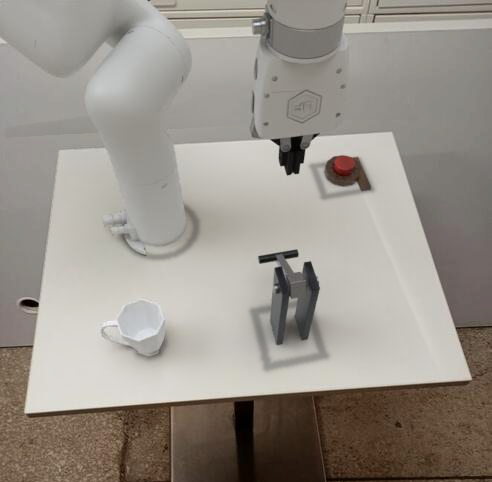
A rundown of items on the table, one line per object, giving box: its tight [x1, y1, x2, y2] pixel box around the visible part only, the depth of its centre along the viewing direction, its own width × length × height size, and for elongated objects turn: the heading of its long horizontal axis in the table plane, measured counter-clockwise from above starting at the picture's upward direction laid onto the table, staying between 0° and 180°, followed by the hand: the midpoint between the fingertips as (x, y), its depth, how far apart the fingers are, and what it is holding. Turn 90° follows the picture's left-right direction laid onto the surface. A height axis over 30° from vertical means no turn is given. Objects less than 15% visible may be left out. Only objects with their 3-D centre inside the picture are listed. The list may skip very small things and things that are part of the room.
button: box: [332, 154, 355, 177], centre depth 92 cm, size 4×4×2 cm
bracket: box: [269, 260, 321, 346], centre depth 72 cm, size 10×9×16 cm
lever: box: [257, 248, 307, 300], centre depth 70 cm, size 12×6×2 cm, turn 12°
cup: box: [100, 297, 166, 358], centre depth 74 cm, size 7×10×8 cm
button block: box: [323, 154, 372, 192], centre depth 93 cm, size 9×8×2 cm
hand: (290, 166), depth 65 cm, fingers closed
